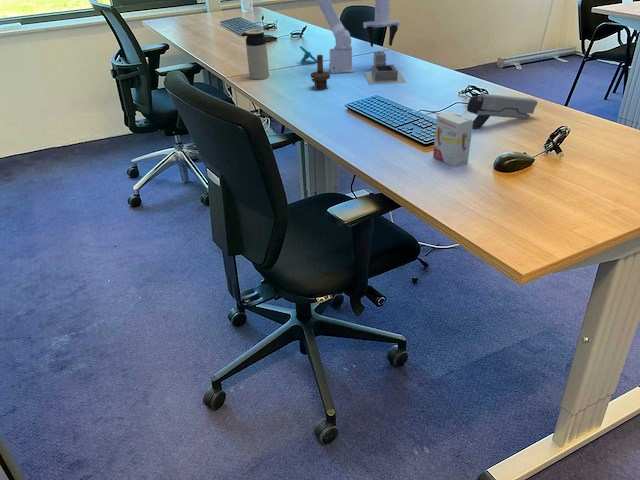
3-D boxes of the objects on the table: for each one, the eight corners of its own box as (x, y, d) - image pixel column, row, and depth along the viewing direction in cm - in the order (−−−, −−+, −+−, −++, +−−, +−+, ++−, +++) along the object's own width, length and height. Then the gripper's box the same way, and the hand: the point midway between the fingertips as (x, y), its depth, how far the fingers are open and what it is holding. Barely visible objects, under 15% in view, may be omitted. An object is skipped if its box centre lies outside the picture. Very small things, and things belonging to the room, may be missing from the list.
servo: (376, 72, 211) (376, 54, 207) (373, 66, 220) (373, 48, 216) (386, 72, 212) (386, 53, 208) (382, 66, 220) (382, 48, 216)
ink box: (431, 156, 139) (435, 114, 132) (445, 152, 141) (450, 110, 134) (454, 167, 132) (459, 123, 126) (468, 163, 134) (474, 119, 128)
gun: (459, 125, 154) (469, 92, 150) (522, 130, 164) (533, 98, 160) (464, 128, 152) (474, 94, 148) (527, 132, 162) (539, 101, 158)
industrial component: (313, 91, 192) (312, 58, 186) (308, 86, 198) (306, 54, 192) (337, 88, 195) (336, 55, 188) (331, 83, 200) (330, 51, 194)
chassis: (369, 84, 198) (369, 74, 196) (364, 73, 211) (364, 64, 209) (405, 82, 198) (406, 72, 196) (398, 71, 211) (398, 62, 209)
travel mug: (273, 76, 212) (269, 30, 202) (258, 81, 207) (253, 33, 197) (260, 73, 217) (255, 28, 207) (245, 77, 212) (240, 31, 202)
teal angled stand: (320, 61, 224) (303, 45, 220) (311, 72, 225) (294, 56, 221) (316, 59, 234) (300, 43, 230) (308, 69, 235) (291, 54, 231)
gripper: (365, 12, 199) (365, 48, 207) (402, 10, 200) (400, 47, 207) (362, 9, 205) (362, 45, 213) (398, 7, 206) (397, 43, 213)
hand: (381, 45), depth 210 cm, fingers open, 7 cm apart
